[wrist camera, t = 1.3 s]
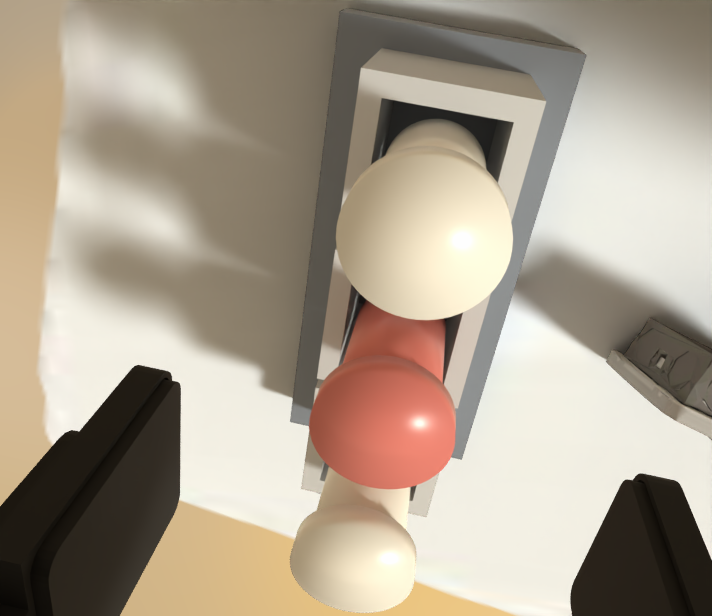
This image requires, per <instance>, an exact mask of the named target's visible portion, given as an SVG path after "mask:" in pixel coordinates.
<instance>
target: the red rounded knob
mask: <svg viewBox="0 0 712 616" xmlns="http://www.w3.org/2000/svg"><path fill="white" fill-rule="evenodd" d="M445 332H446V325H445V319H444V318H443V319H436V320H415V319H408V318H403V317H400V316H396V315H393V314H391V313H388V312H386V311H384V310H382V309H380V308H378V307H376V306H375V305H373V304H372V303H371V302H369V301H368V300H366V301H365V302H364V304H363V305H362V307H361V308H360V311H359V313H358V316H357V320H356V323H355V326H354V329H353V332H352V336H351V339H350V342H349V345H348V348H347V351H346V355H345V358H344V361H343V364H342V365H340V366H339V367H337V368H336V369H334V370H333V371H332V372H331V373H330V374H329V375H328V376H327V377H326V378H325V380H324V381H323V383H322V384H321V386H320V388H319V391H318V393H317V396H316V399H315V402H314V405H313V408H312V411H311V414H310V419H309V430H310V436H311V440H312V442H313V445H314V447H315V449H316V451H317V452H318V454H319V456H320V457H321V458H322V459H323V461H324V462H325V463H326V464H327V465H328V466H329V467H330V468H332V469H333V470H334V471H335V472H337V473H338V474H340V475H341V476H343V477H344V478H346V479H348V480H350V481H353V482H355V483H358V484H360V485H364V486H367V487H372V488H378V489H402V488H408V487H412V486H416V485H418V484H421V483H423V482H425V481H427V480H429V479H431V478H432V477H434V476H435V475H437V474H438V473H439V472H440V471H441V470H442V469H443V468H444V467H445V466H446V464H447V463H448V461H449V460H450V458H451V456H452V453H453V451H454V446H455V431H456V412H455V406H454V403H453V400H452V398H451V395H450V393H449V392H448V390H447V389H446V387H445V386H444V384H443V366H444V349H445Z"/></svg>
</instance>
